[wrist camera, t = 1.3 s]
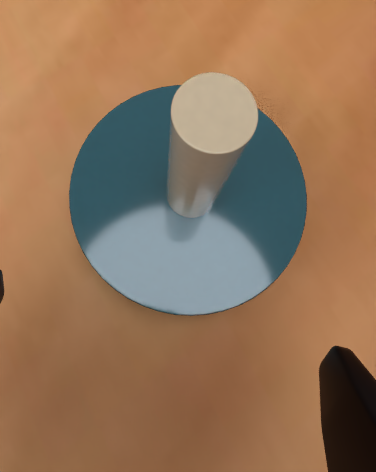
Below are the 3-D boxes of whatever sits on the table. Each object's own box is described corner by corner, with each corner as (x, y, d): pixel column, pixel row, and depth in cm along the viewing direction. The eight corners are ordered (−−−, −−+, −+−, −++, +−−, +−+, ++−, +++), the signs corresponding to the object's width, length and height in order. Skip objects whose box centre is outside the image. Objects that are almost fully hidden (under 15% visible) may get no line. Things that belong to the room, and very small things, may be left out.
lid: (234, 359, 20) (308, 421, 10) (26, 238, 20) (-103, 180, 10) (335, 163, 22) (475, 55, 12) (149, 57, 23) (141, -131, 13)
